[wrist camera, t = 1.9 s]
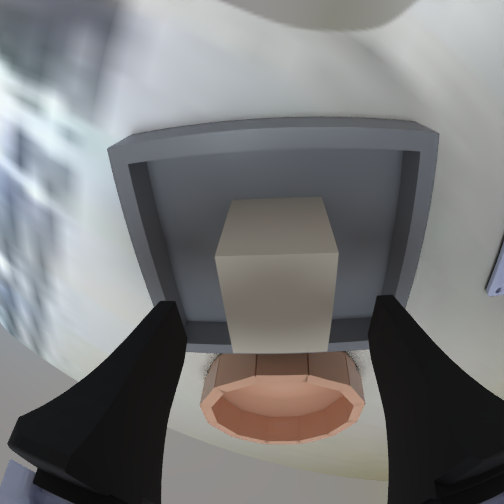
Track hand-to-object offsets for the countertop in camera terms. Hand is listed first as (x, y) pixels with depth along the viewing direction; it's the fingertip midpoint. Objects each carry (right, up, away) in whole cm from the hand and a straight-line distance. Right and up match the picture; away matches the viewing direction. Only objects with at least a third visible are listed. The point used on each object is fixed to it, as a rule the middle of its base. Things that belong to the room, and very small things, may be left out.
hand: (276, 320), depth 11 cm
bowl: (+2, -8, +12) cm, 14 cm away
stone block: (0, +3, +4) cm, 5 cm away
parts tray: (0, +3, +5) cm, 6 cm away
